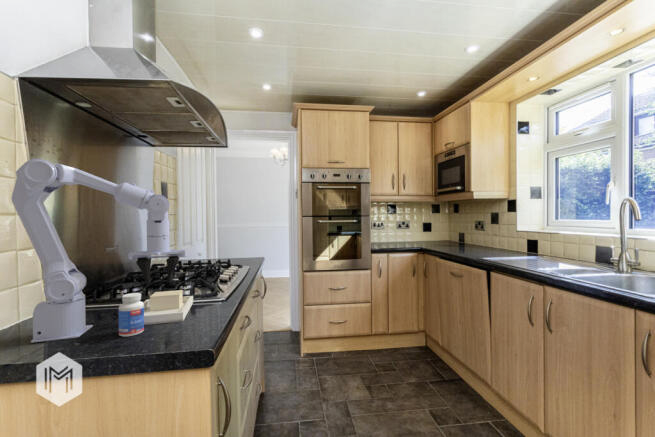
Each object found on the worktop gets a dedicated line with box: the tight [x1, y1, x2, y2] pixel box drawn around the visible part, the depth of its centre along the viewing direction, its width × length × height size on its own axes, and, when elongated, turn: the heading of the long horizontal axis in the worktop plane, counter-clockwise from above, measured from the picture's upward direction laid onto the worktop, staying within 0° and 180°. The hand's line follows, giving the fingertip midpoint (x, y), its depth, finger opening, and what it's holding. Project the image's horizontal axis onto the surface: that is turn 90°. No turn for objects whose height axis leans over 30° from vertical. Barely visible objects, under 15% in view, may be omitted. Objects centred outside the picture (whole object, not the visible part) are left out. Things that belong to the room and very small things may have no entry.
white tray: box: [142, 295, 194, 326], centre depth 89 cm, size 14×18×2 cm
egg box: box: [149, 289, 184, 311], centre depth 93 cm, size 8×6×4 cm
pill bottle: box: [118, 292, 145, 338], centre depth 74 cm, size 6×5×10 cm
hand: (159, 282), depth 84 cm, fingers open, 5 cm apart
